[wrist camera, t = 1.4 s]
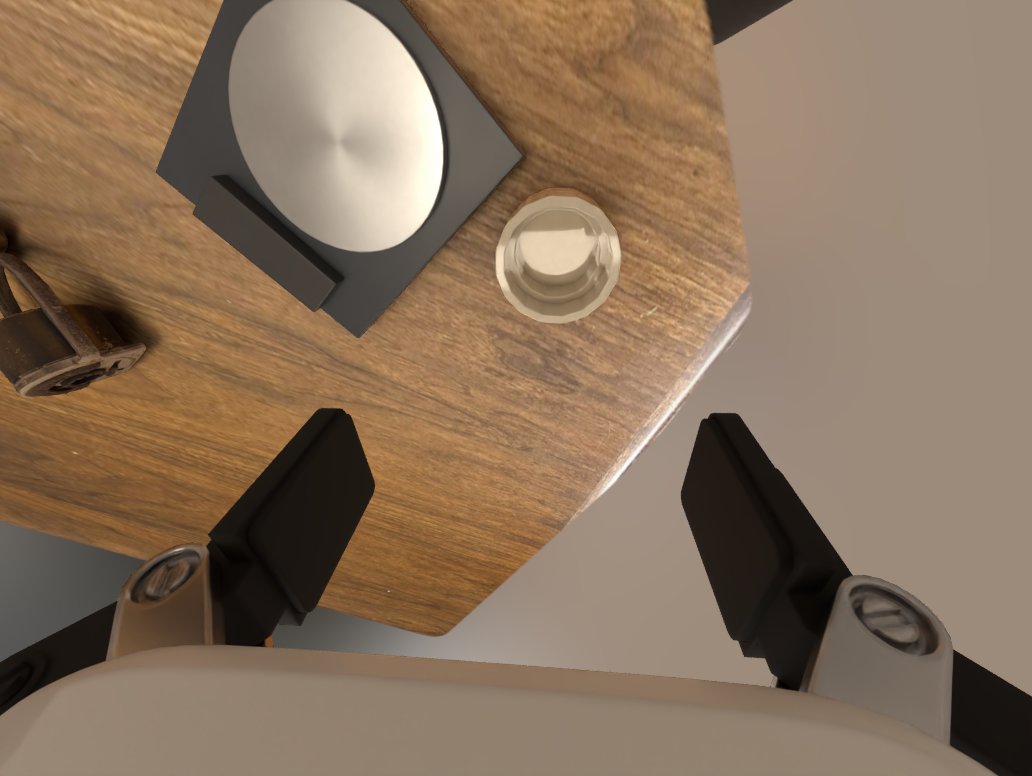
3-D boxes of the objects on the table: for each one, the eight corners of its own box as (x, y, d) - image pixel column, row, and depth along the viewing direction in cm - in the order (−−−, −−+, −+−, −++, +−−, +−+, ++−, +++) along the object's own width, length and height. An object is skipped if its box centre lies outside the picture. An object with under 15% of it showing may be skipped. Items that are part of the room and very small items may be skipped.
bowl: (563, 159, 22) (566, 162, 18) (631, 249, 24) (646, 270, 20) (482, 242, 25) (469, 261, 21) (550, 315, 27) (550, 344, 23)
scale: (315, -114, 17) (262, -172, 14) (527, 154, 22) (523, 157, 19) (189, 169, 24) (135, 173, 20) (372, 324, 28) (350, 347, 25)
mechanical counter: (15, 416, 29) (87, 426, 26) (-204, 255, 22) (-141, 240, 18) (112, 363, 35) (183, 365, 31) (-36, 217, 27) (37, 200, 24)
